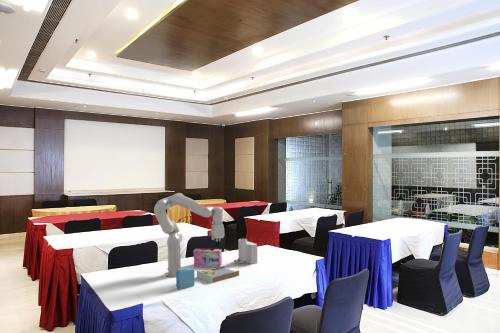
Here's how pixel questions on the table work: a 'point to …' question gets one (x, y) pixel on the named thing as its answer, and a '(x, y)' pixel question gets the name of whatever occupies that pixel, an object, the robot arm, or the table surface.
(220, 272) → the box
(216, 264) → the gum box
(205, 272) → the maple block
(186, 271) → the data package
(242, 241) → the control panel
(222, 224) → the robot arm
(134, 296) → the table surface
